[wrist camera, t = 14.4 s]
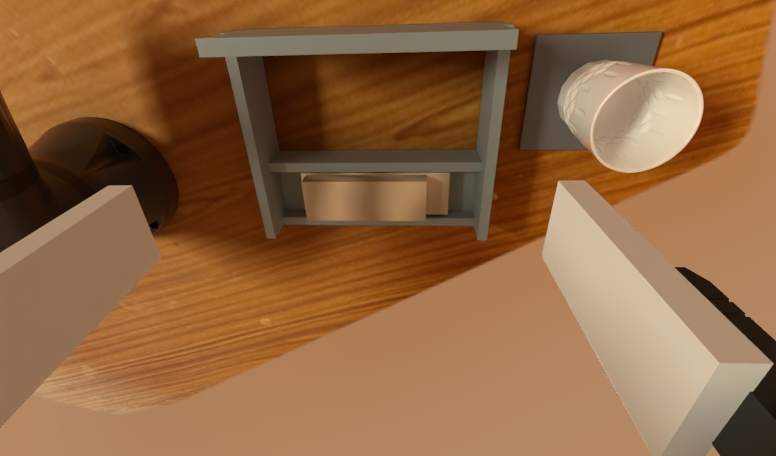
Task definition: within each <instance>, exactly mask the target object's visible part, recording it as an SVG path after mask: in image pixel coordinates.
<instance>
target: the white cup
mask: <svg viewBox="0 0 776 456" xmlns="http://www.w3.org/2000/svg"><path fill="white" fill-rule="evenodd" d="M557 105H558V110H559V115H560V118H561V119H562V120H563V121H564V122H565V123H566V124H567V125H568V127H569V128H570V130H571V132H572V133H573V134H574V135H575V136H576V137H577V138H578V139H579V141H580V142H581V143H582V144H583V145H584V146H585V147H586V148H587V149H588V150H589V151H590V152H591V153H592V154H593V155H594V156H595V157H596V158H597V159H598V160H599V161H600V162H601V163H602V164H603V165H605V166H606V167H608V168H610V169H612V170H615V171H619V172H625V173H634V172H641V171H646V170H649V169H652V168H655V167H657V166H659V165H661V164H663V163H665V162H667V161H668V160H670V159H671V158H673V157H674V156H675V155H677V154H678V153H679V152H680V151H681V150H682V149H683V148H684V147H685V146H686V145H687V144H688V143H689V142H690V140H691V139H692V137H693V136H694V134H695V133H696V131H697V129H698V127H699V125H700V122H701V119H702V115H703V109H704V100H703V95H702V91H701V89H700V87H699V85H698V84H697V82H696V81H695V80H694V79H693V78H692V77H691V76H689V75H688V74H686V73H684V72H682V71H679V70H675V69H669V68H663V67H657V66H652V65H646V64H640V63H631V62H624V61H610V60H600V61H594V62H588V63H587V64H585V65H583V66H582V67H580V68H579V69H577V70H575V71H574V72H572V74H571V75H570V76H569V78H568V79H567V80H566V82H565V83H564V84H563V86H562V87H561V90H560V94H559V98H558V102H557Z"/></svg>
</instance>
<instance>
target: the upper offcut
mask: <svg viewBox="0 0 776 456" xmlns="http://www.w3.org/2000/svg"><path fill="white" fill-rule="evenodd" d="M301 184H302V190H303V197H304V203H305V209H306V215H307V220H332V221H426V186H427V180H426V175H305V177H304V178H303V180H302V181H301Z"/></svg>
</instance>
